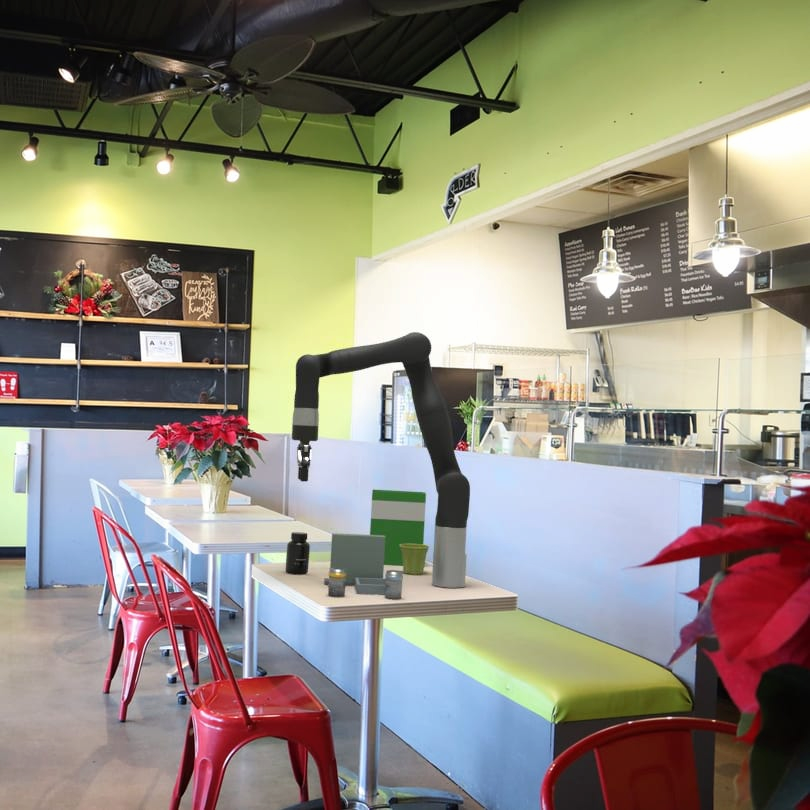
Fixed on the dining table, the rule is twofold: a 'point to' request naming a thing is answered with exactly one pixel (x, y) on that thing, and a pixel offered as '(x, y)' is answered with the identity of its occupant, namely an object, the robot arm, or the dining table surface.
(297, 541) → the supplement bottle
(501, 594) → the dining table surface
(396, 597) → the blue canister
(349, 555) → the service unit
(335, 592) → the grey gold-banded metal jar
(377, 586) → the tray
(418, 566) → the plant pot
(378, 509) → the hardback book
